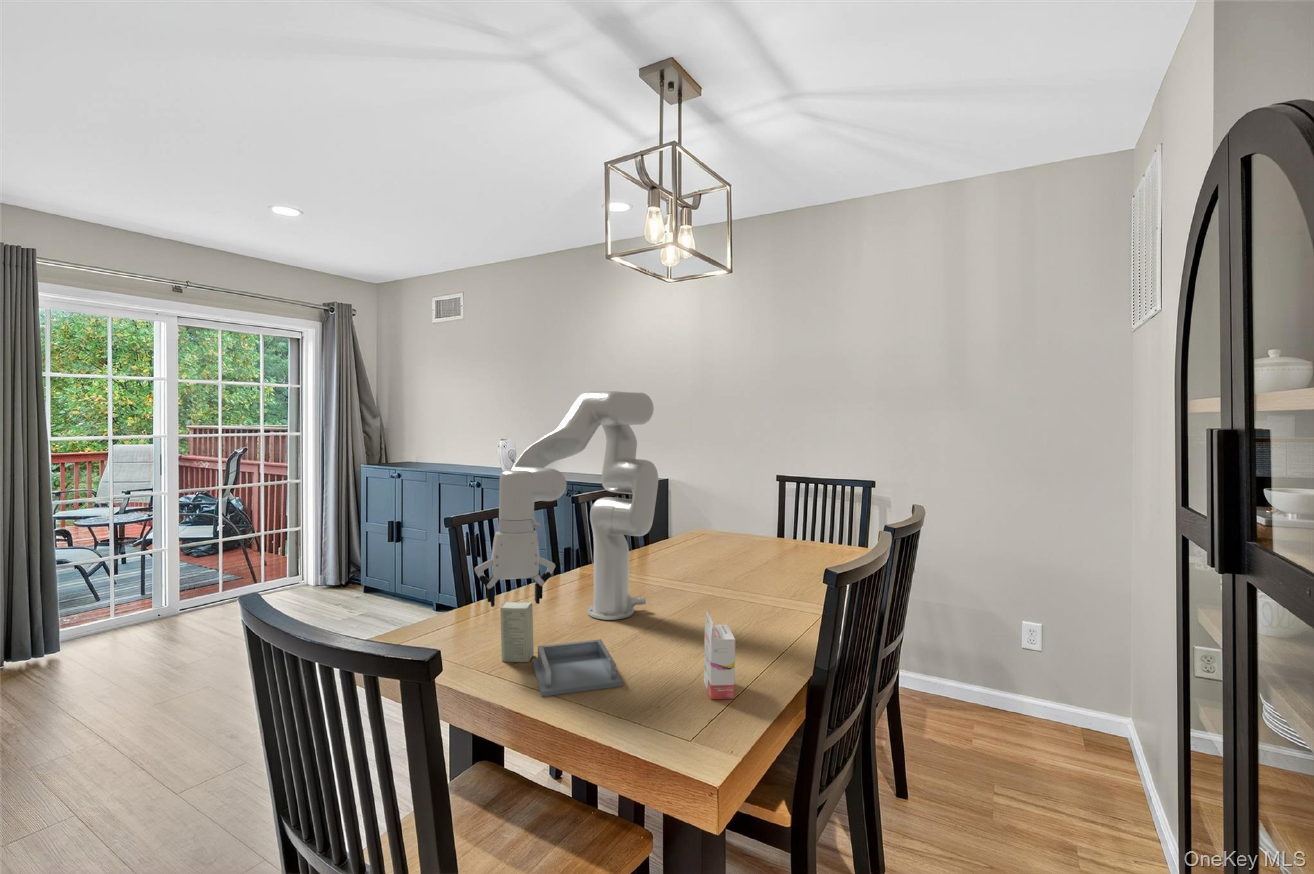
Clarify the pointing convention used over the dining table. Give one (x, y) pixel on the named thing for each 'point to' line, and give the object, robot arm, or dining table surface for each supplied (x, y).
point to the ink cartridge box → (719, 660)
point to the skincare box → (517, 631)
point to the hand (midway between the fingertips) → (515, 603)
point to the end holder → (575, 668)
